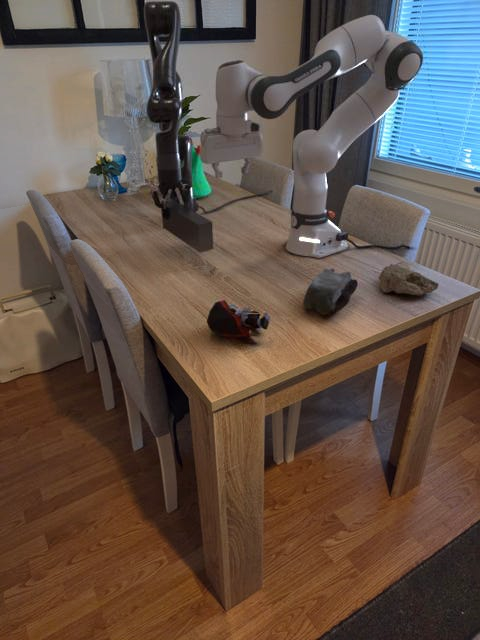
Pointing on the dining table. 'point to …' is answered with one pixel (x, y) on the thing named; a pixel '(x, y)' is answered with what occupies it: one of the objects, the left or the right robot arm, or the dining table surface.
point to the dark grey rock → (330, 292)
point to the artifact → (405, 280)
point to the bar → (189, 226)
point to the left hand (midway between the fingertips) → (173, 216)
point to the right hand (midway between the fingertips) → (232, 175)
